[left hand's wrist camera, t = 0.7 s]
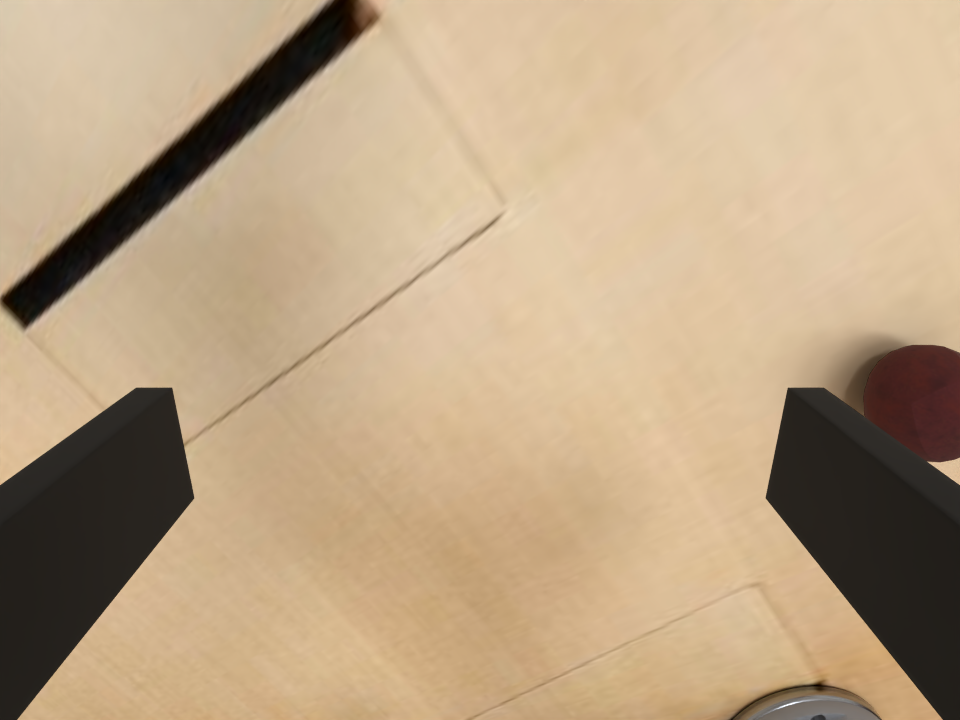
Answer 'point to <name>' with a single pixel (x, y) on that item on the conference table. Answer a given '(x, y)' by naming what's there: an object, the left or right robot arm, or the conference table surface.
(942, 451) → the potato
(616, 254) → the conference table surface
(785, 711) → the right robot arm
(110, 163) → the conference table surface
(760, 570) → the conference table surface
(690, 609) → the conference table surface
